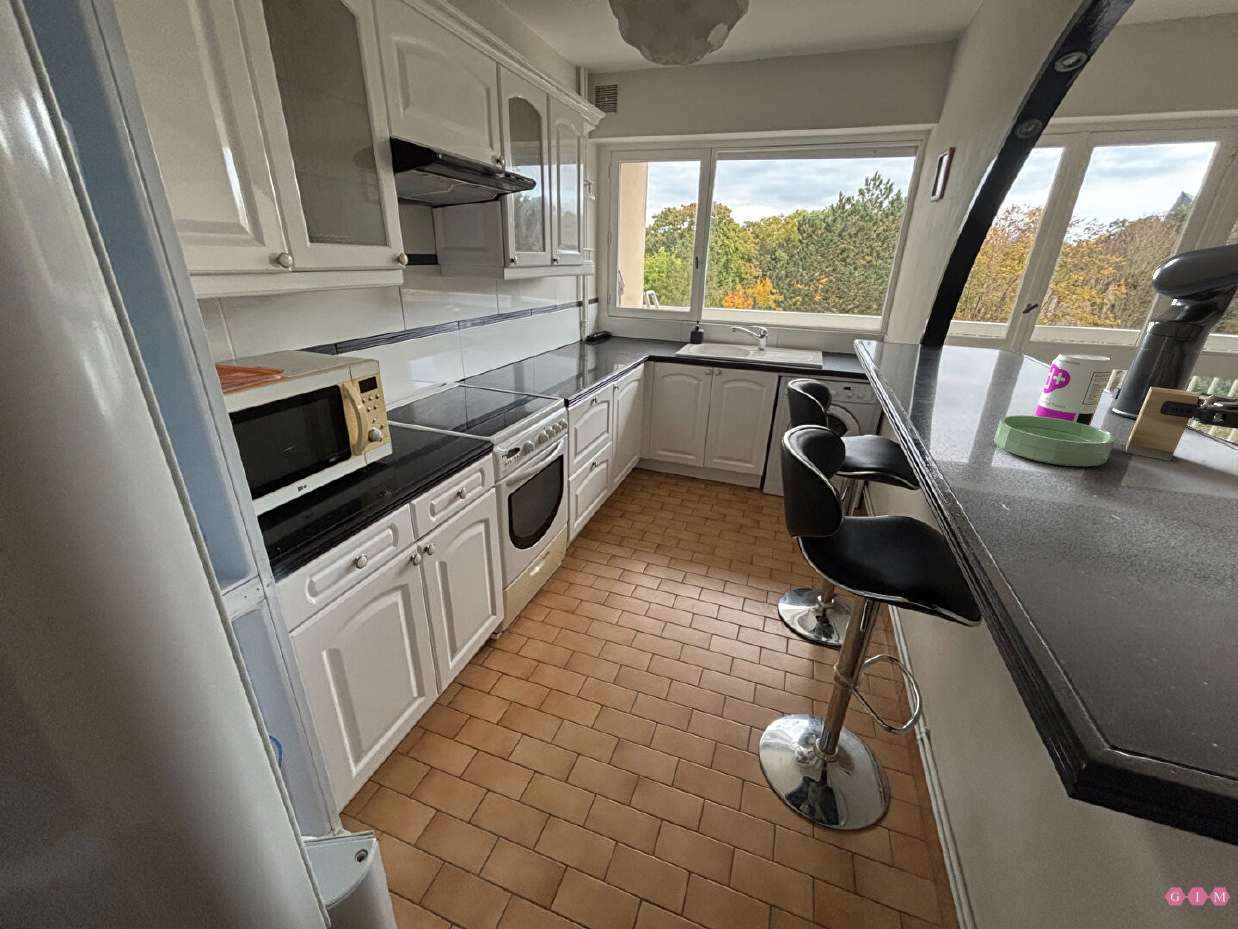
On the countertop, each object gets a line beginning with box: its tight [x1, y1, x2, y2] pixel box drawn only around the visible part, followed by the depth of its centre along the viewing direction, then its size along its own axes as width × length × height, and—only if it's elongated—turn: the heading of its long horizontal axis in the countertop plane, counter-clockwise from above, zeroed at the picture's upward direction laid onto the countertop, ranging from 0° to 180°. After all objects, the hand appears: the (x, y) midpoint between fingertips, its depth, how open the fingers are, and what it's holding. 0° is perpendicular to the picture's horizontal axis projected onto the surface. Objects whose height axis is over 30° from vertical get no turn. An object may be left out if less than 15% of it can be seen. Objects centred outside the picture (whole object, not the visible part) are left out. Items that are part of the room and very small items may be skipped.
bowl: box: [993, 414, 1116, 467], centre depth 87 cm, size 15×15×4 cm
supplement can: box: [1034, 352, 1113, 426], centre depth 94 cm, size 8×8×15 cm
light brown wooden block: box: [1125, 387, 1199, 462], centre depth 86 cm, size 4×6×11 cm
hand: (1160, 402), depth 85 cm, fingers open, 8 cm apart
